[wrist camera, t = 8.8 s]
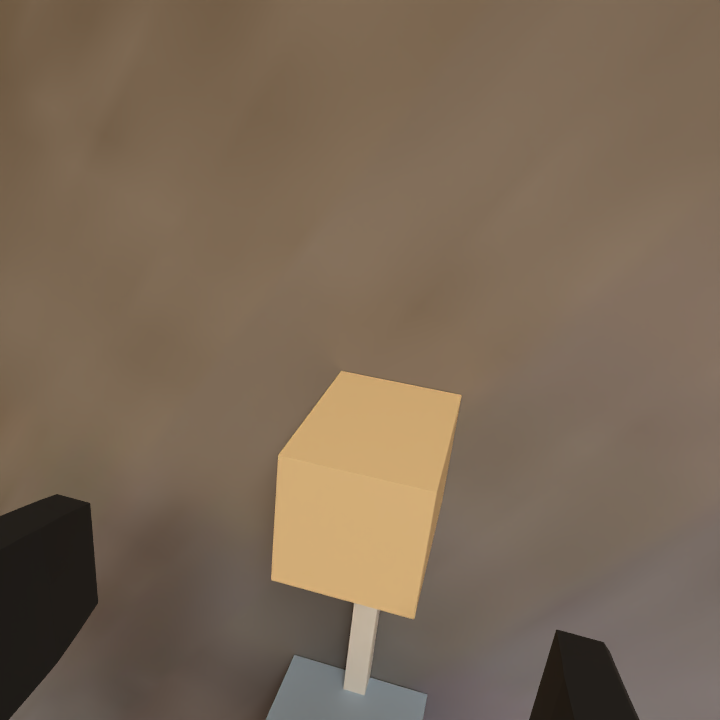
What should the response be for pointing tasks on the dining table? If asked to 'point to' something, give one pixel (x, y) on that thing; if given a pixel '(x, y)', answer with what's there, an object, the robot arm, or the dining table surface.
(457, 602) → the dining table surface
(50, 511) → the robot arm
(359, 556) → the tethered block
